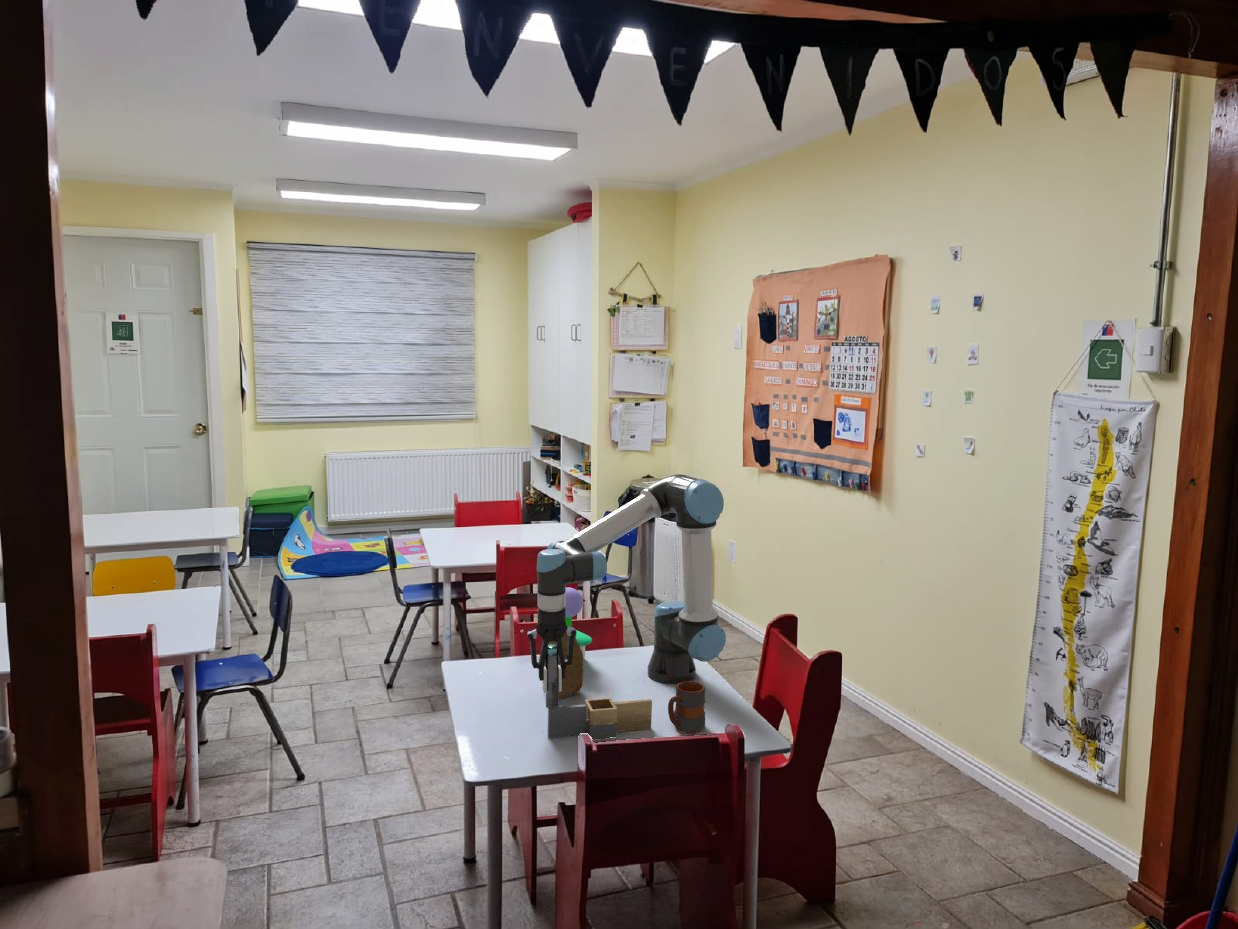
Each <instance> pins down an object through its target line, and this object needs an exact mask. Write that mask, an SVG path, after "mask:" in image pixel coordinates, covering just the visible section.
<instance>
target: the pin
mask: <svg viewBox="0 0 1238 929" xmlns="http://www.w3.org/2000/svg"><path fill="white" fill-rule="evenodd" d="M546 670H547V693H545V708H547V709H548V707H559V698H558V647H557V645H548V647H547V653H546Z"/></svg>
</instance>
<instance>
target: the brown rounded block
mask: <svg viewBox="0 0 1238 929" xmlns="http://www.w3.org/2000/svg"><path fill="white" fill-rule="evenodd" d="M567 627H570V626H567ZM572 627H573V626H572ZM572 627H570V628H572ZM567 641H568V635H567V631H566V632H565V634H564V635H563V636H562V638H561V642H562V648H563V654H564V659H565V660H566V656H567ZM548 645H556V642H555V641H551V642H549V644H548ZM558 665H560V662H559V656H558ZM544 666H545V667H546V659H545V665H544ZM583 680H584V659H583V653H582V650H581V648H580V646H579V643H578V642H577V640H576V635H575V637H574V644H573V659H572V664H571V665H568V666H566V668H565V678H564V679H562V692H559V691H558V699H566V698H571V696H575V695H577V694H578V693H579V692H580V691H581V689H582V686H583Z"/></svg>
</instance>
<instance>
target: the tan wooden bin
mask: <svg viewBox="0 0 1238 929" xmlns="http://www.w3.org/2000/svg"><path fill="white" fill-rule="evenodd" d="M584 705H586V718H587V720H588V722H589V724H590V725H599V724H610V723H616V724H617V732H626V731H637V730H649V729H652V718H653V717H652V714H653V712H652V710H653V701H652V699H638V700H637V699H636V700H623V701H613V699H612V698H611V697H604V698H602V697H600V698H591V699H590V698H589V699H584Z"/></svg>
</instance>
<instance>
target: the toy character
mask: <svg viewBox="0 0 1238 929" xmlns="http://www.w3.org/2000/svg"><path fill="white" fill-rule="evenodd" d="M565 598H566V606H565V607H564V608H565V609H566V625H567V626H570V627H573V626H572V620H573V619H572V618H573V617H575V616H576V615H578V614H579V613H580V612H581V610H582V608H583V597H582V594H581V593H580V592H579V591H578V590H577V589H575V588H573V587H567V586H566V592H565ZM575 630H576V629H575ZM576 640H577V642H578V643H579V646H580V648H581V650H582V653H583V660H584V659H586V646H587V645H590V644H591V643H592V642H593V638H592V637H591V636H590V635H587V634H586V633H583V632H581V631H579V630H576Z"/></svg>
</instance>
